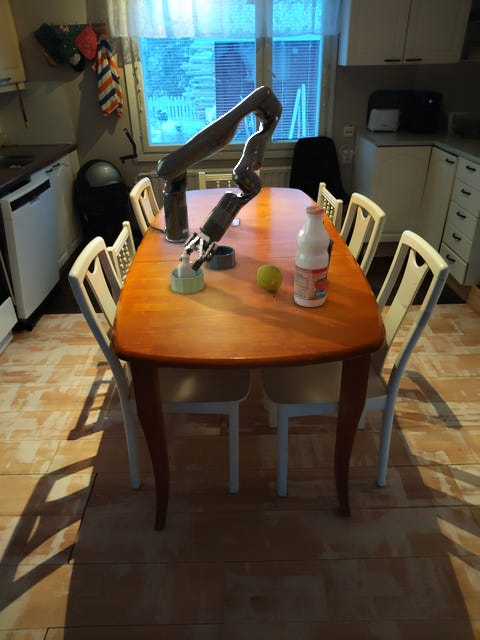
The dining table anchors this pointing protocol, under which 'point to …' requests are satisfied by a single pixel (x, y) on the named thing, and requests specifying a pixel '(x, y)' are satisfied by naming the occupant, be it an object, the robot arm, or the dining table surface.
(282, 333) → the dining table surface
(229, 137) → the robot arm
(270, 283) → the lemon
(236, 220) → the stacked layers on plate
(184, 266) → the eye dropper bottle
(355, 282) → the dining table surface
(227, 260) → the slate cup
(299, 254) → the fruit juice
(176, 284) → the celadon cup
